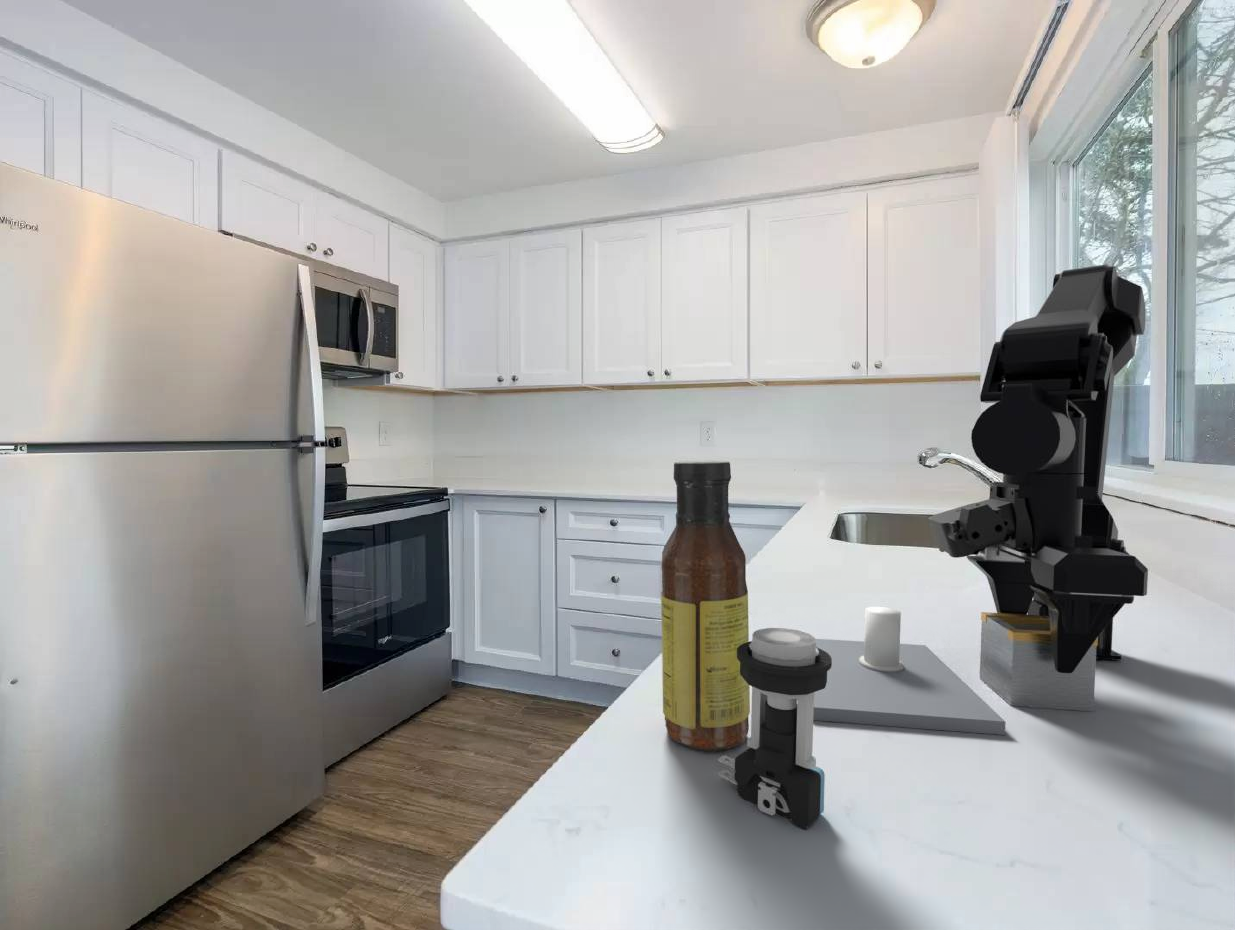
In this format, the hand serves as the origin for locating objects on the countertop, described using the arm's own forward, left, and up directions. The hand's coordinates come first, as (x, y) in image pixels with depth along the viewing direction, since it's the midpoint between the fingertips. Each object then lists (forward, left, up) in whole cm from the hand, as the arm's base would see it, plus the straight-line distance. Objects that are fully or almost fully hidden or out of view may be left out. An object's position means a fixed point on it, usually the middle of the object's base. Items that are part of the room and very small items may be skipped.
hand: (1034, 653), depth 55 cm
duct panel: (+13, 0, -4) cm, 14 cm away
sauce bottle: (+28, +13, -4) cm, 31 cm away
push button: (+24, +21, -4) cm, 32 cm away
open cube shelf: (0, 0, -4) cm, 4 cm away
